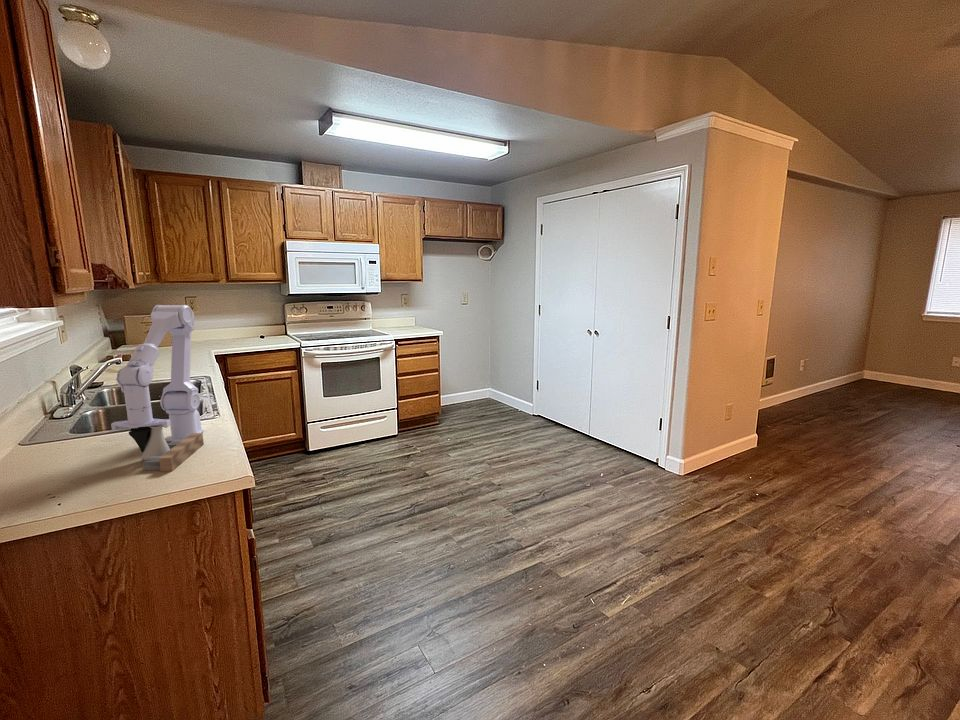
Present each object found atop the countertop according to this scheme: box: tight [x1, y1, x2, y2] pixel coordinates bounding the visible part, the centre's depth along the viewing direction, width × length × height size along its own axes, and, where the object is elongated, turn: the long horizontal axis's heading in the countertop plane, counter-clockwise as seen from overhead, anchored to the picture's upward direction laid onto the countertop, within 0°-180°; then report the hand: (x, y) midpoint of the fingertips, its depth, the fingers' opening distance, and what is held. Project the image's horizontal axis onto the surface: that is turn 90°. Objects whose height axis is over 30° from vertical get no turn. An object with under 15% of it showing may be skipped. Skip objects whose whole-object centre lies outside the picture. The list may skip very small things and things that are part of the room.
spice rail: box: [142, 432, 205, 473], centre depth 133 cm, size 20×8×4 cm, turn 10°
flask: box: [140, 426, 170, 461], centre depth 131 cm, size 7×7×10 cm
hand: (145, 451), depth 131 cm, fingers closed
